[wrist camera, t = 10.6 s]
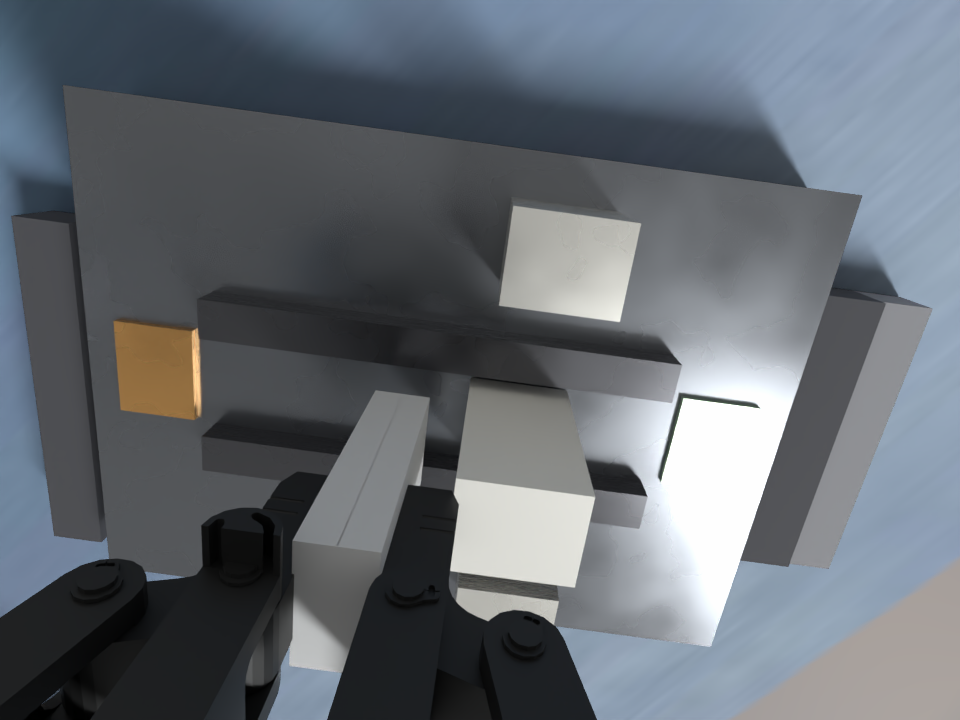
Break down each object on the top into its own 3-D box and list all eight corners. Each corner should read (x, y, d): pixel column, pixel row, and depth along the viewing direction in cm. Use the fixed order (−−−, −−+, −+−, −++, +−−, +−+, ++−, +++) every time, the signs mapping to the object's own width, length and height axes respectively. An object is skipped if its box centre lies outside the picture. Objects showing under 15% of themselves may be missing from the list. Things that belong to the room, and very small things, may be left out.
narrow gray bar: (722, 530, 23) (739, 560, 22) (801, 283, 20) (828, 295, 18) (807, 541, 23) (831, 572, 22) (900, 297, 20) (936, 310, 18)
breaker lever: (461, 446, 19) (443, 570, 13) (470, 377, 18) (455, 478, 12) (553, 458, 19) (574, 587, 13) (567, 390, 18) (595, 496, 13)
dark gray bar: (85, 509, 24) (54, 535, 22) (53, 210, 20) (11, 215, 18) (129, 514, 24) (101, 542, 22) (105, 217, 20) (68, 223, 18)
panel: (156, 518, 24) (49, 630, 18) (129, 95, 19) (-34, 69, 13) (686, 589, 24) (741, 721, 19) (808, 189, 19) (939, 204, 13)
